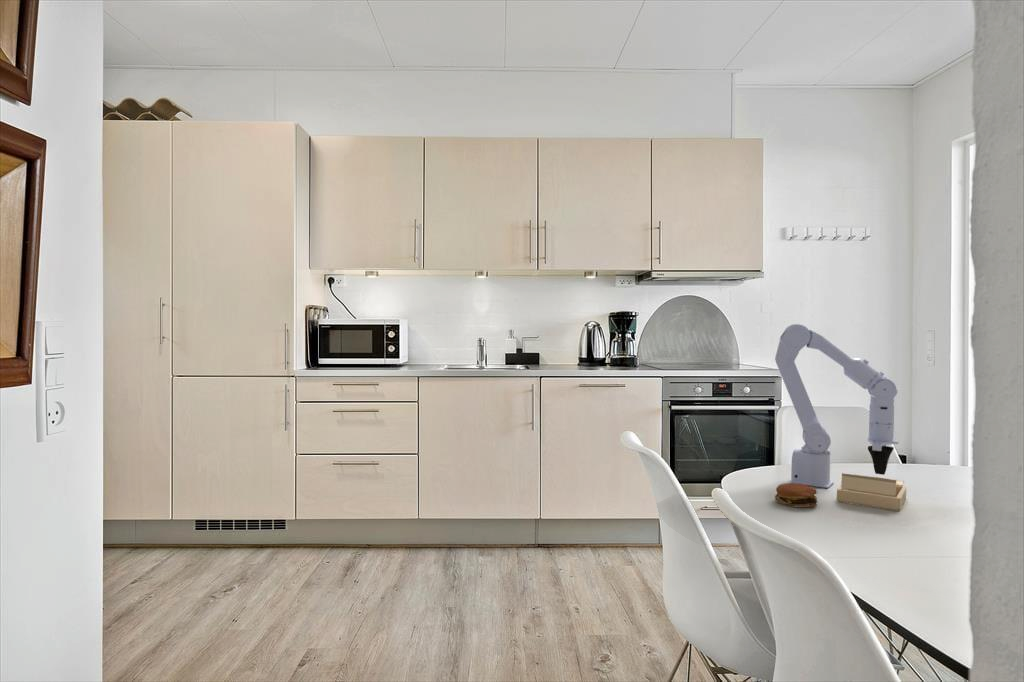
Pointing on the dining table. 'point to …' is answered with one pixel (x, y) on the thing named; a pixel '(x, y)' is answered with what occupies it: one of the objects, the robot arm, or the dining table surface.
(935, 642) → the dining table surface
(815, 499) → the burger
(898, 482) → the flap
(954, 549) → the dining table surface
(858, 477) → the flap
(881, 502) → the carton
